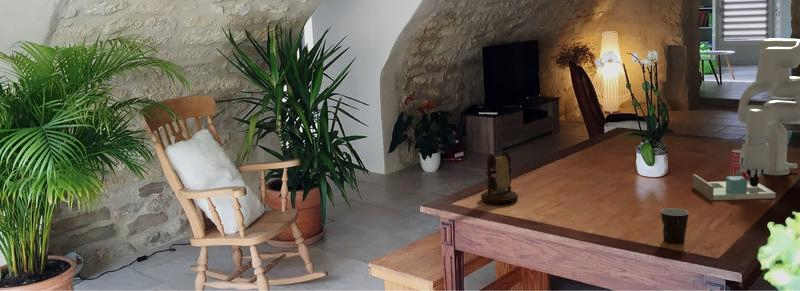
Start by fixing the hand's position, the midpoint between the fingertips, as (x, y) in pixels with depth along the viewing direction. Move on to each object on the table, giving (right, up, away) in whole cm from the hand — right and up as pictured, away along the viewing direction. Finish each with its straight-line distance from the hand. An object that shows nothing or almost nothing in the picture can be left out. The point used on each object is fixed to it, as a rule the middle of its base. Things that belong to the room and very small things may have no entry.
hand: (753, 185), depth 313 cm
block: (-7, -2, -1) cm, 8 cm away
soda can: (+4, +1, +23) cm, 24 cm away
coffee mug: (-49, -16, -50) cm, 72 cm away
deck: (-6, -3, +6) cm, 9 cm away
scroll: (-99, -7, +7) cm, 100 cm away
